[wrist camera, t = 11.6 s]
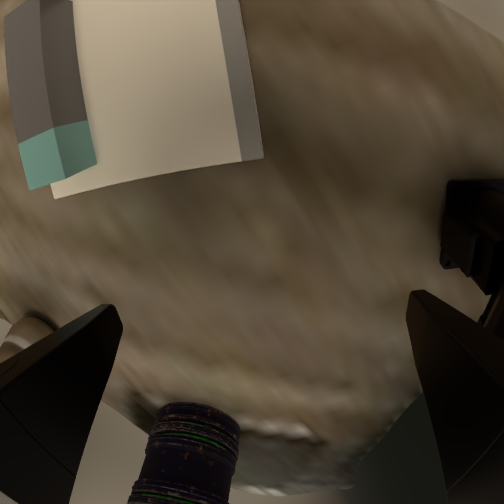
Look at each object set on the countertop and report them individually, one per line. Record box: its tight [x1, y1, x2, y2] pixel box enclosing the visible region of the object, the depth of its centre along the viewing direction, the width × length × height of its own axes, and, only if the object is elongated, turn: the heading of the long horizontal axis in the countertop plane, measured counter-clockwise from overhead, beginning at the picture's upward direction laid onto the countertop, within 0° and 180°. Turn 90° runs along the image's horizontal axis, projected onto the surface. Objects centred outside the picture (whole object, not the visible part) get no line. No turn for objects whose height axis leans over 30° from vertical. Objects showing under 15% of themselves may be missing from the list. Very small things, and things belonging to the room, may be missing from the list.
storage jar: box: [127, 402, 240, 504], centre depth 25 cm, size 10×10×15 cm
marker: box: [4, 0, 97, 190], centre depth 14 cm, size 3×12×4 cm, turn 9°
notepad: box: [50, 0, 264, 199], centre depth 16 cm, size 15×14×1 cm
